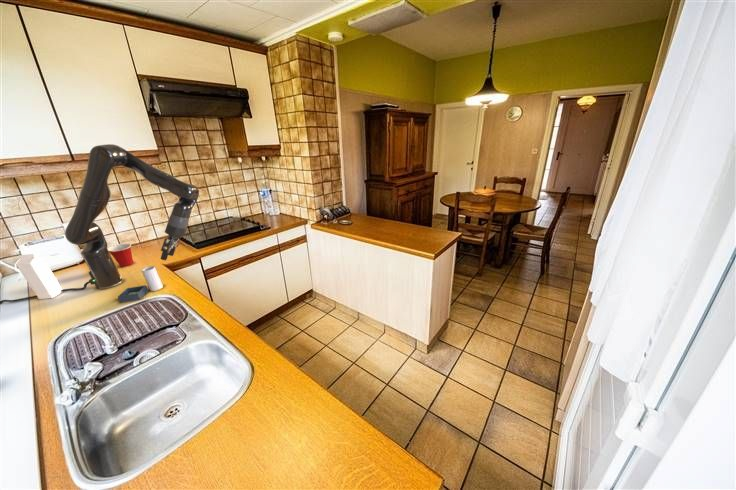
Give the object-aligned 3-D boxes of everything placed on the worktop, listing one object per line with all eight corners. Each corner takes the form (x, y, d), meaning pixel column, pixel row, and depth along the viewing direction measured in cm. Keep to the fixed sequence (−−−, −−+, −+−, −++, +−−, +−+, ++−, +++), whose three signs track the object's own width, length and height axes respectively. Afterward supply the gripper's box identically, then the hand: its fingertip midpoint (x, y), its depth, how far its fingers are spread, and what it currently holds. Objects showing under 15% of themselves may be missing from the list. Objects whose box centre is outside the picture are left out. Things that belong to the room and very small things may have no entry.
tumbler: (148, 292, 127) (139, 272, 123) (153, 286, 132) (144, 267, 128) (160, 290, 128) (151, 270, 124) (165, 284, 133) (156, 265, 129)
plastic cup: (125, 269, 152) (116, 250, 147) (110, 268, 154) (101, 249, 149) (143, 261, 161) (135, 243, 157) (129, 260, 164) (121, 242, 159)
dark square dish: (120, 302, 120) (117, 297, 119) (129, 293, 127) (127, 288, 126) (140, 299, 122) (137, 293, 120) (148, 290, 129) (146, 285, 127)
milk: (52, 298, 127) (26, 257, 118) (38, 299, 127) (11, 258, 118) (64, 291, 133) (40, 251, 124) (51, 292, 132) (26, 252, 123)
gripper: (173, 220, 128) (163, 251, 129) (161, 224, 115) (150, 258, 116) (191, 225, 131) (181, 256, 132) (181, 229, 117) (170, 263, 119)
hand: (166, 257), depth 124 cm, fingers open, 8 cm apart
